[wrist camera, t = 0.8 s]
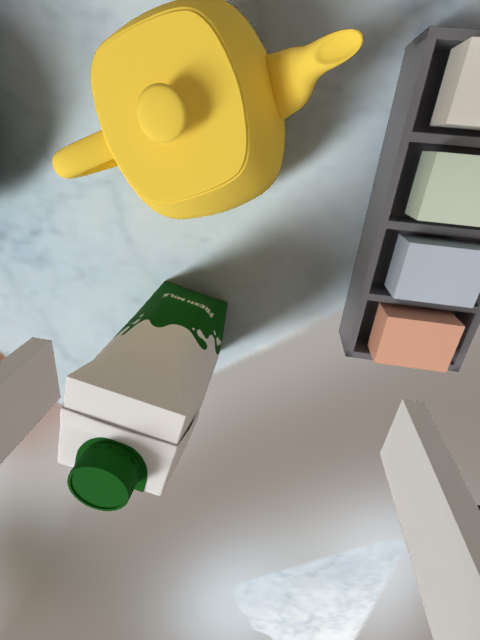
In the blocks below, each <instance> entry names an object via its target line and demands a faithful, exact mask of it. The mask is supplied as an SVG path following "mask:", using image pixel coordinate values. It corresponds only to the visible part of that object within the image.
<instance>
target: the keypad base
mask: <svg viewBox="0 0 480 640" xmlns="http://www.w3.org/2000/svg"><path fill="white" fill-rule="evenodd" d="M471 37H480V29H466V28H450V27H435V26H429V27H428V28H427V29H426V30H425V31H424V32H423V33H421V34H420V35H419V36H418V37H417V38H416V39H414V40H413V41H412V42H411V43H410V44H409V45H408V46H406V50H405V54H404V58H403V62H402V66H401V71H400V75H399V79H398V83H397V88H396V92H395V96H394V100H393V104H392V109H391V113H390V117H389V121H388V126H387V130H386V134H385V138H384V142H383V147H382V151H381V155H380V159H379V164H378V168H377V172H376V176H375V180H374V185H373V189H372V193H371V197H370V202H369V206H368V210H367V214H366V218H365V223H364V227H363V231H362V235H361V240H360V244H359V248H358V252H357V256H356V261H355V265H354V269H353V273H352V278H351V282H350V286H349V290H348V294H347V299H346V303H345V307H344V311H343V316H342V320H341V324H340V328H339V333H340V337H341V341H342V345H343V348H344V352H345V356H349V357H355V358H363V359H370V360H373V359H372V356H371V354H370V351H369V348H368V346H367V344H368V341H369V337H370V334H371V330H372V327H373V323H374V320H375V316H376V312H377V309H378V305H379V302H383V303H391V304H399V305H407V306H415V307H423V308H431V309H439V310H447V311H451V312H452V313H453V314H454V315H455V316H456V317H457V318H458V319H459V320H460V322H461V323H462V324H463V325H464V326H465V329H464V331H463V334H462V336H461V338H460V341H459V343H458V346H457V348H456V350H455V353H454V355H453V358H452V360H451V362H450V365H449V367H448V370H450V371H457V372H458V371H459V369H460V367H461V364H462V362H463V360H464V358H465V355H466V353H467V351H468V348H469V346H470V344H471V342H472V339H473V337H474V335H475V332H476V330H477V327H478V325H479V323H480V293H479V295H478V298H477V300H476V302H475V305H474V307H473V308H467V307H459V306H451V305H443V304H435V303H427V302H419V301H411V300H402V299H394V298H393V297H392V296H391V294H390V293H389V291H388V290H387V288H386V287H385V285H384V284H385V281H386V277H387V274H388V270H389V267H390V263H391V260H392V256H393V252H394V249H395V245H396V242H397V238H398V235H399V234H406V235H415V236H424V237H433V238H442V239H451V240H461V241H470V242H477V243H479V244H480V227H474V226H465V225H456V224H446V223H437V222H427V221H418V220H415V219H414V218H412V217H410V216H408V215H407V214H405V210H406V207H407V203H408V200H409V196H410V192H411V189H412V185H413V182H414V178H415V175H416V171H417V168H418V164H419V161H420V157H421V154H422V151H433V152H447V153H458V154H469V155H480V130H468V129H457V128H445V127H434V126H429V125H430V122H431V118H432V115H433V111H434V108H435V104H436V101H437V97H438V94H439V90H440V87H441V83H442V80H443V76H444V73H445V69H446V65H447V62H448V58H449V55H450V51H451V49H452V48H454V47H456V46H457V45H459V44H461V43H462V42H464V41H466V40H467V39H469V38H471Z"/></svg>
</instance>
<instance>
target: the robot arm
mask: <svg viewBox="0 0 480 640" xmlns="http://www.w3.org/2000/svg"><path fill="white" fill-rule="evenodd" d="M60 397H61V396H60V390H59V384H58V377H57V371H56V365H55V358H54V352H53V346H52V340H46V339H40V338H34V337H32V338H31V339H30V340H28V341H27V342H26V343H24V344H23V345H22V346H20V347H19V348H18V349H16V350H15V351H14V352H13V353H11V354H10V355H9V356H7V357H6V358H5V359H3V360H2V361H1V362H0V464H1V463H2V462H3V461H4V460H5V459H6V457H7V456H8V455H9V454H10V453H11V452H12V451H13V450H14V449H15V448H16V446H17V445H18V444H19V443H20V442H21V441H22V440H23V439H24V437H25V436H26V435H27V434H28V433H29V432H30V431H31V429H33V427H34V426H35V425H36V424H37V423H38V422H39V421H40V420H41V419H42V417H43V416H44V415H45V414H46V413H47V412H48V411H49V410H50V409H51V407H52V406H53V405H54V404H55V403H56V402H57V401H58V400H59V398H60ZM380 455H381V459H382V462H383V466H384V469H385V472H386V476H387V480H388V483H389V487H390V490H391V493H392V497H393V501H394V504H395V507H396V511H397V515H398V518H399V522H400V525H401V528H402V532H403V535H404V539H405V542H406V546H407V549H408V553H409V556H410V560H411V563H412V567H413V570H414V574H415V577H416V580H417V584H418V588H419V591H420V594H421V598H422V602H423V605H424V609H425V612H426V616H427V619H428V623H429V626H430V630H431V633H432V637H433V640H480V506H479V505H477V504H476V502H475V500H474V498H473V497H472V494H471V492H470V491H469V489H468V487H467V485H466V483H465V481H464V479H463V477H462V475H461V473H460V471H459V469H458V467H457V465H456V463H455V461H454V459H453V457H452V455H451V453H450V451H449V449H448V448H447V446H446V444H445V442H444V440H443V438H442V436H441V434H440V432H439V430H438V428H437V426H436V424H435V422H434V420H433V418H432V416H431V414H430V413H429V410H428V408H427V407H426V405H425V403H424V402H418V401H412V400H406V399H402V402H401V404H400V406H399V409H398V411H397V414H396V416H395V419H394V421H393V423H392V426H391V428H390V431H389V433H388V436H387V438H386V440H385V443H384V445H383V448H382V450H381V452H380Z"/></svg>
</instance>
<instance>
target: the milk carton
mask: <svg viewBox="0 0 480 640" xmlns="http://www.w3.org/2000/svg"><path fill="white" fill-rule="evenodd" d="M226 309H227V302H224V301H221V300H219V299H216V298H213V297H210V296H207V295H204V294H201V293H198V292H195V291H192V290H189V289H186V288H184V287H181V286H178V285H175V284H172V283H169V282H166V281H164V283H163V284H162V285H161V286H160V287H159V288H158V290H157V291H156V292H155V293H154V294H153V295H152V296H151V298H150V299H149V300H148V301H147V302H146V303H145V304H144V306H143V307H142V308H141V309H140V310H139V311H138V312H137V313H136V315H135V316H134V317H133V318H132V319H131V320H130V321H129V322H128V323H127V324H126V325H125V326H124V327H123V328H122V330H121V331H120V332H119V333H118V334H117V335H116V336H115V337H114V338H113V339H112V340H111V341H110V342H109V344H108V345H107V346H106V347H105V348H104V349H103V350H102V351H101V352H100V353H99V354H98V355H97V356H96V358H95V359H94V360H93V361H91V362H89V363H88V364H86V365H84V366H83V367H81V368H80V369H78V370H76V371H75V372H73V373H71V374H70V375H68V376H67V377H66V387H65V397H64V402H63V405H62V407H61V412H60V413H61V414H60V421H61V423H60V436H59V448H58V463H60V464H64V465H67V466H71V467H73V469H72V470H71V472H70V474H69V476H68V481H67V482H68V487H69V489H70V491H71V493H72V494H73V495H74V496H75V497H76V498H77V499H78V500H79V501H80V502H82V503H83V504H85V505H87V506H89V507H91V508H94V509H98V510H102V511H114V510H118V509H121V508H122V507H124V506H125V505H126V504H127V502H128V500H129V498H130V496H131V494H132V492H133V490H134V489H135V490H138V491H141V492H143V491H147V492H149V493H152V494H155V495H158V496H160V495H162V492H163V491H164V489H165V486H166V485H167V482H168V481H169V479H170V477H171V475H172V473H173V472H174V470H175V468H176V466H177V464H178V462H179V460H180V458H181V456H182V454H183V451H184V449H185V447H186V445H187V442H188V440H189V438H190V436H191V433H192V431H193V428H194V426H195V423H196V421H197V418H198V415H199V410H200V408H201V405H202V402H203V400H204V397H205V394H206V391H207V388H208V385H209V382H210V379H211V376H212V374H213V371H214V368H215V365H216V362H217V359H218V356H219V352H220V348H221V343H222V337H223V329H224V322H225V315H226Z"/></svg>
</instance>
